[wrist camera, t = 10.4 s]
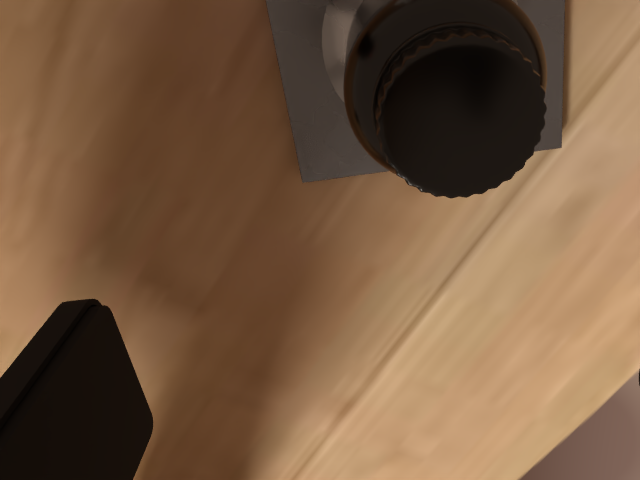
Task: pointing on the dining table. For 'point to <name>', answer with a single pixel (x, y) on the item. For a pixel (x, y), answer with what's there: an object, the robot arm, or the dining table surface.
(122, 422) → the robot arm
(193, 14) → the dining table surface
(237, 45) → the dining table surface
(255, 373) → the dining table surface
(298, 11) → the dish on grey tray
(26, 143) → the dining table surface
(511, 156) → the supplement bottle
